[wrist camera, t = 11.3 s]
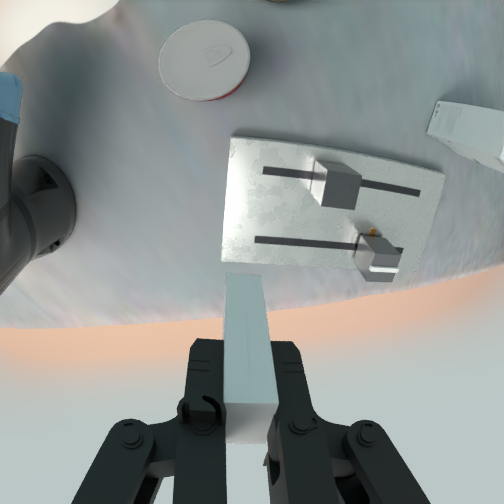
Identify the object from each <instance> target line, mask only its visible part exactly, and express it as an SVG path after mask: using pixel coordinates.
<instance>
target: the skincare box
mask: <svg viewBox="0 0 504 504" xmlns="http://www.w3.org/2000/svg"><path fill="white" fill-rule="evenodd" d="M426 134H427V135H429V136H431V137H433V138H435V139H437V140H438V141H440V142H442V143H443V144H445V145H446V146H448V147H449V148H450V149H452V150H453V151H454V152H456V153H457V154H458V155H460V156H462V157H464V158H467V159H470V160H472V161H475V162H477V163H480V164H482V165H485V166H487V167H490V168H492V169H494V170H497V171H499V172H502V173H504V111H500V110H496V109H491V108H485V107H480V106H474V105H468V104H462V103H455V102H448V101H439V100H438V101H437V103H436V106H435V109H434V112H433V115H432V118H431V120H430V123H429V126H428V129H427V131H426Z"/></svg>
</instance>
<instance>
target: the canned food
mask: <svg viewBox="0 0 504 504" xmlns="http://www.w3.org/2000/svg"><path fill="white" fill-rule="evenodd" d="M249 65H250V49H249V46H248V43H247V41H246V39H245V38H244V36H243V35H242V34H241V33H240V32H239V31H238V30H237V29H236V28H234V27H233V26H231V25H230V24H227V23H225V22H222V21H217V20H199V21H194V22H191V23H188V24H186V25H184V26H182V27H180V28H178V29H177V30H176V31H175V32H173V33H172V34H171V35H170V36H169V37H168V39H167V40H166V41H165V43H164V44H163V46H162V48H161V51H160V53H159V57H158V71H159V74H160V77H161V80H162V81H163V83H164V84H165V86H166V87H167V88H168V89H169V90H170V91H171V92H173V93H174V94H176V95H177V96H179V97H182V98H184V99H188V100H193V101H212V100H218V99H221V98H225V97H226V96H228V95H230V94H232V93H233V92H234V91H236V90H237V88H238V87H239V86H240V85H241V83H242V82H243V80H244V78H245V76H246V74H247V71H248V68H249Z"/></svg>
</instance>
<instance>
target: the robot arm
mask: <svg viewBox="0 0 504 504" xmlns="http://www.w3.org/2000/svg"><path fill="white" fill-rule="evenodd" d="M22 92H23V85H22V82H21V80H20V78H19V77H18V76H16V75H15V74H12V73H6V72H0V295H1V294H2V293H3V292H4V291H5V289H6V288H7V287H8V286H9V285H10V283H11V282H12V281H13V280H14V279H15V277H16V276H17V275H18V274H19V273H20V272H21V271H22V269H23V268H24V267H25V266H26V265H27V264H28V263H29V262H30V261H32V260H34V259H37V258H40V257H42V256H45V255H48V254H50V253H52V252H54V251H56V250H57V249H58V248H59V247H60V246H61V245H62V244H63V243H64V242H65V241H66V240H67V239H68V237H69V236H70V234H71V232H72V230H73V227H74V224H75V218H76V205H75V199H74V195H73V192H72V189H71V186H70V184H69V182H68V180H67V178H66V177H65V175H64V174H63V172H62V171H61V170H60V169H59V168H58V167H57V166H56V165H55V164H54V163H52V162H51V161H49V160H47V159H45V158H43V157H39V156H27V157H24V158H22V159H19V160H17V161H15V162H13V156H14V148H15V140H16V133H17V127H18V124H19V123H20V118H19V112H20V104H21V98H22ZM177 413H178V415H177V416H176V417H175V418H173V419H171V420H169V421H167V422H163V423H158V424H151V425H147V424H145V423H143V422H142V421H140V420H136V419H125V420H121V421H119V422H118V423H116V424H115V425H114V426H113V427H112V428H111V430H110V431H109V433H108V435H107V437H106V439H105V441H104V443H103V444H102V446H101V448H100V450H99V452H98V453H97V455H96V457H95V459H94V461H93V463H92V465H91V467H90V469H89V470H88V472H87V474H86V476H85V478H84V480H83V482H82V484H81V486H80V488H79V489H78V491H77V493H76V495H75V497H74V499H73V501H72V503H71V504H153V503H154V500H155V498H156V495H157V492H158V490H159V488H160V485H161V482H162V480H163V478H164V477H170V476H174V489H173V504H227V486H226V443H236V444H238V443H239V444H260V443H261V444H262V443H266V440H267V442H268V452H267V454H266V457H265V459H264V464H263V466H266V465H267V472H268V483H269V492H270V504H431V503H430V502H429V500H428V498H427V497H426V495H425V494H424V492H423V491H422V489H421V487H420V486H419V484H418V482H417V481H416V479H415V478H414V476H413V474H412V473H411V471H410V470H409V468H408V467H407V465H406V463H405V462H404V460H403V459H402V457H401V456H400V454H399V452H398V451H397V449H396V448H395V446H394V445H393V443H392V442H391V440H390V438H389V437H388V435H387V434H386V432H385V431H384V429H383V428H382V427H381V426H380V425H379V424H377V423H375V422H373V421H370V420H361V421H357V422H355V423H354V424H352V425H351V426H345V425H339V424H334V423H330V422H327V421H325V420H324V419H322V418H321V417H319V416H318V415H317V414H316V412H315V411H314V409H313V406H312V403H311V398H310V394H309V389H308V385H307V381H306V376H305V374H304V367H303V364H302V359H301V354H300V351H299V350H298V348H297V347H296V346H295V345H294V343H293V342H292V341H270V336H269V329H268V322H267V315H266V308H265V301H264V294H263V287H262V280H261V275H250V274H233V273H226V286H225V301H224V316H223V340H215V339H213V340H212V339H199V338H197V339H196V340H195V342H194V343H193V345H192V346H191V347H190V354H189V362H188V368H187V377H186V386H185V394H184V397H183V398H182V399H181V400H180V401H179V404H178V406H177Z"/></svg>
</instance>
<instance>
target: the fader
mask: <svg viewBox="0 0 504 504" xmlns="http://www.w3.org/2000/svg"><path fill="white" fill-rule="evenodd" d="M401 256H402V255H401V254H400V253H399V252H398V251H397V250H396V249H395V248H394V247H393V245H392V244H391V243H390V242H389V241H388V240H387V239H386V238H382V237H372V236H360V240H359V243H358V247H357V251H356V254H355V258H354V261H353V262H354V263H355V265H356V266H357V268H358V269H359V271H360V273H361V274H362V276H363V277H364V279H365V280H366V281H370V282H392V281H393V278H394V276H395V273H398V271H399V268H398V264H399V262H400V259H401Z"/></svg>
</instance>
